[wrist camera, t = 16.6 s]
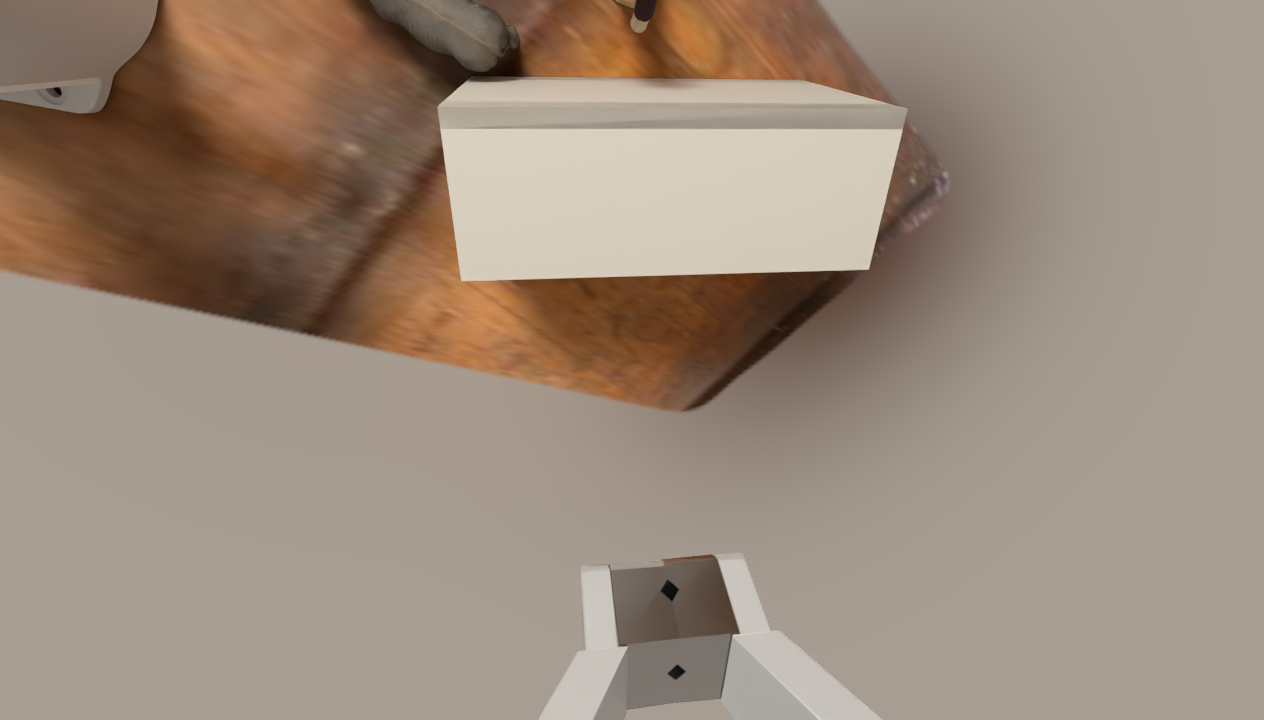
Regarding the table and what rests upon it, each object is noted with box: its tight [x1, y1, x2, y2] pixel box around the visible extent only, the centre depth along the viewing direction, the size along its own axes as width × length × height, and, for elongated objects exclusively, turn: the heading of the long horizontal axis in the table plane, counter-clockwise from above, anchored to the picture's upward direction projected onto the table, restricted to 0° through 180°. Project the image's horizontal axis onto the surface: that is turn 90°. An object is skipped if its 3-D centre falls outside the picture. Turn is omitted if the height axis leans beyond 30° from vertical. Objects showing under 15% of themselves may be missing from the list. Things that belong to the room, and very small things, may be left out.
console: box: [437, 76, 907, 281], centre depth 38 cm, size 24×10×15 cm, turn 89°
